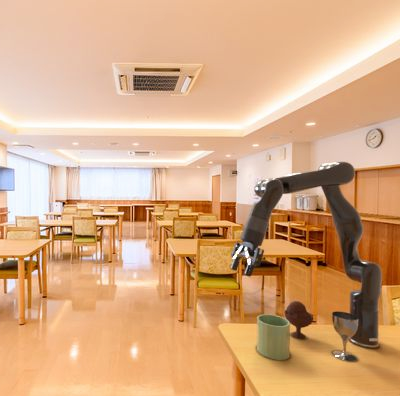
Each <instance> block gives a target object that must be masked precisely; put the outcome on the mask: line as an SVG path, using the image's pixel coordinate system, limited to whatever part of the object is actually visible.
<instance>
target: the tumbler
mask: <svg viewBox="0 0 400 396" xmlns="http://www.w3.org/2000/svg"><path fill="white" fill-rule="evenodd" d="M256 350H257V352H258V353H259V354H260V355H262V356H263V357H265V358H268V359H272V360H277V361H283V360H288V359H289V358H290V355H291V353H290V352H291V323H290V322H289V321H288V320H287V319H286V317H283V316H279V315H276V314H270V313H267V314H259V315H257V317H256Z"/></svg>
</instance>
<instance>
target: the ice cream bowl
mask: <svg viewBox="0 0 400 396" xmlns="http://www.w3.org/2000/svg"><path fill="white" fill-rule="evenodd" d="M283 314H284V318H285V319H287V320H288V321H289V322H290V325H292V326H293V327H295V331H293V332H291V333H290V337H292V338H294V339H297V340H306V339H307V338H306V335H305V334H303V333H302V331H301V329H304V328H306V327H309V326H311V325H312V323H313V321H314V315H313V314H312V313H310V312H309V311H308V310H307V308H306V306H305V304H303V302H301V301H299V300H294V301H292V302H290V303H289V304H288V306H287V307H286V309H285V310H284V313H283Z"/></svg>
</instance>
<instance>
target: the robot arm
mask: <svg viewBox="0 0 400 396" xmlns="http://www.w3.org/2000/svg"><path fill="white" fill-rule="evenodd" d="M355 177H356V170H355V167H354V166H353V164H352V163H350V162H348V161H335V162H328V163H327V162H326V163H323V164H321V165H320V166H319V167H318V169H317V170H312V171H311V170H310V171H302V172H296V173H291V174H286V175H284V176H279V177H272V178H265V179H261V180H259V181H257V182H256V183H255V186H254V188H253V190H254V193H255V195H256V196H257V197H259V198H260V199H259V200H258V201H256V202H253V204H252V206H251V209H250V211H249V213H248V217H247V219H246V221H245V223H244V226H243V229H242V232H241V234H240V240H241V242H238V241H235V243H234V247H233V249H232V251H231V253H230V257H231V258H232V263H231V266H230V269H231V270H233V271H237V270H238V267H239V265H240V262H241V260H242V259H244V258H246V259H247V264H246V268H245V271H244V276H246V277H248V278H250V277H252V275H253V272H254V269H255V268H256V267H260V266H261V263H262V260H263V257H264V253H265V250H264V249H263V248H260V247H261V246H262V245H263V242H264V239H265V236H266V234H267V231H268V226H269V222H270V220H271V215H272V213H273V211H274V210H275V208H276V206H278V204H279V202H280V200H281V199H282V197H283V195H291V194H294V193H299V192H303V191H307V190H310V189H315V188H320V187H321V190H322V192H323V194H324V197H325V200H326V202H327V204H328V208H329V211H330V214H331V219H332V223H333V227H334V229H335V232H336V236H337V240H338V243H339V247H340V253H341V257H342V264H343V270H344V274H345V275H346V278H348V279H349V280H351V281H353V282H356V283H359V284H361V286H360V289H352V290H350V292H349V313H350V314H353V315H355V316H357V317H358V329H357V332H356V334H355V335H354V336H352V337H351V338H349V339H348V341H350V342H352V343H353V344H354V345H357V346H360V347H363V348H368V349H378V348H379V341H380V340H379V339H380V338H379V322H380V321H379V319H380V318H379V317H380V316H379V313H380V312H379V309H380V307H379V306H380V305H379V301H380V298H381V294H382V283H383V282H382V281H383V271H382V268H381V266H380V265H379V264H378V263H376V262H372V261H368V260H363V259H361V258H360V254H359V250H358V246H359V243H360V241H361V240H362V237H363V235H364V225H363V221H362V217H361V215H360V212H359V211H358V210H357V208H356V207H354V205H353V204H352V203H351V202H350V200H348V199H347V198H346V197H345V195H344V194H343V192H342V189H341V187H340V186H345V185H348V184H350V183H351V182H352V181H354V179H355Z"/></svg>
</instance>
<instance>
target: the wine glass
mask: <svg viewBox="0 0 400 396" xmlns="http://www.w3.org/2000/svg"><path fill="white" fill-rule="evenodd" d="M331 321H332V327H333V329H334V330H335V332H336V333H337V334H338V335H339V336H340V338H341V341H342V346H343V349H342V350H334V351H333V352H332V354H333V356H334V357H335V358H338V359H340V360H343V361H345V362H356V361H357V360H358V359H357V356H355V355H354V354H352V353H350V352H347V345H348V341H349V338H351V337H352V336H354V335H355V334H356V332H357V329H358V317H357V316H355V315H353V314H350V312H345V311H339V310H337V311H333V312H331Z"/></svg>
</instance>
